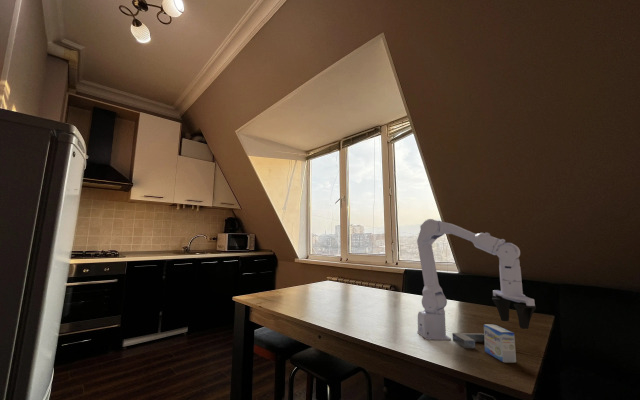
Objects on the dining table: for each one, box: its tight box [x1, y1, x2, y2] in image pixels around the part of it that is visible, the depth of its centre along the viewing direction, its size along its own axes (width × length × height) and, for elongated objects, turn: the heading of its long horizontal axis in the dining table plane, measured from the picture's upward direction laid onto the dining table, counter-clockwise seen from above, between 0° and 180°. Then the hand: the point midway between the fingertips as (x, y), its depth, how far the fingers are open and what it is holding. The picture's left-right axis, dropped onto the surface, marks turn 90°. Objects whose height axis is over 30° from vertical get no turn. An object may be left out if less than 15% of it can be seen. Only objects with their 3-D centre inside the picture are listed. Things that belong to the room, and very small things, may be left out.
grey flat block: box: [452, 332, 485, 349], centre depth 92 cm, size 15×7×2 cm, turn 93°
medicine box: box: [483, 323, 517, 364], centre depth 83 cm, size 8×4×9 cm, turn 5°
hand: (514, 324), depth 83 cm, fingers open, 7 cm apart
